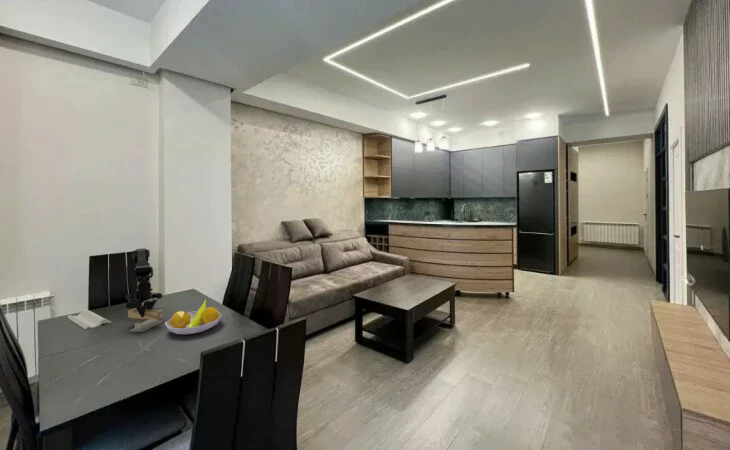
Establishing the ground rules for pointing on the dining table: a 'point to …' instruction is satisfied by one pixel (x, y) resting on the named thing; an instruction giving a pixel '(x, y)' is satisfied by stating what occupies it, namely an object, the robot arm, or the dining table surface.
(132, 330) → the fulcrum stand
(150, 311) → the oak batten
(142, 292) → the robot arm
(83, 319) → the crown molding
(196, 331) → the fruit bowl
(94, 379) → the dining table surface
